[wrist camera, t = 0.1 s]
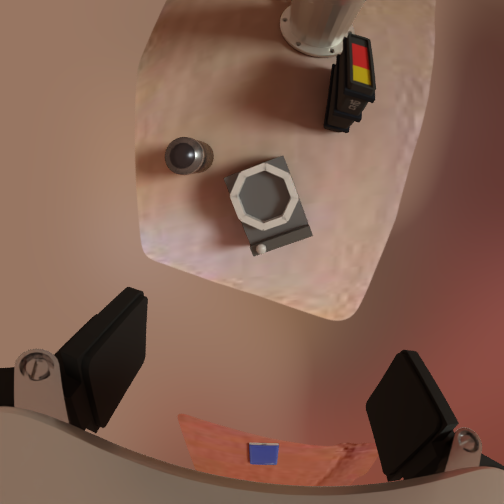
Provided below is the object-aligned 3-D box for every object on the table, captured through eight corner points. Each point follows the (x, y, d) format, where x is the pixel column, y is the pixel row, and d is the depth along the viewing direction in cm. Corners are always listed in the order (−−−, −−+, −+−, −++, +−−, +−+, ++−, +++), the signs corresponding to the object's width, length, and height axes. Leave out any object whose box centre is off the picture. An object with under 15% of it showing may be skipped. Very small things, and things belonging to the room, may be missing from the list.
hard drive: (276, 465, 66) (278, 446, 62) (249, 464, 66) (248, 445, 63) (276, 461, 67) (278, 441, 64) (250, 460, 68) (249, 441, 64)
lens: (178, 149, 43) (158, 146, 35) (206, 136, 42) (192, 130, 34) (189, 178, 44) (172, 181, 36) (218, 165, 43) (206, 165, 35)
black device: (319, 146, 40) (347, 83, 25) (324, 86, 41) (345, 24, 26) (342, 152, 39) (379, 93, 25) (344, 91, 41) (371, 32, 26)
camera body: (229, 176, 44) (221, 178, 37) (282, 156, 42) (283, 154, 36) (256, 244, 47) (253, 257, 40) (307, 226, 45) (313, 236, 39)
